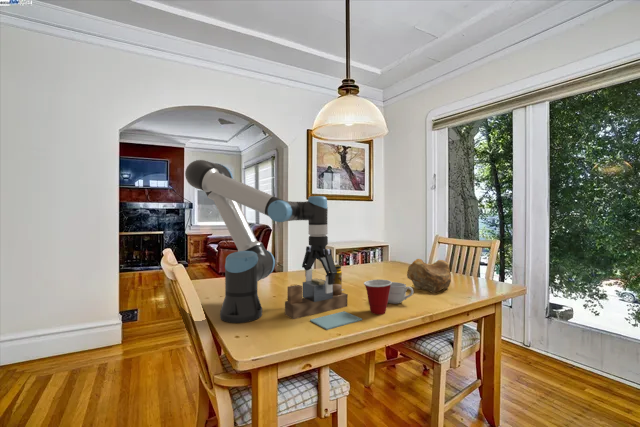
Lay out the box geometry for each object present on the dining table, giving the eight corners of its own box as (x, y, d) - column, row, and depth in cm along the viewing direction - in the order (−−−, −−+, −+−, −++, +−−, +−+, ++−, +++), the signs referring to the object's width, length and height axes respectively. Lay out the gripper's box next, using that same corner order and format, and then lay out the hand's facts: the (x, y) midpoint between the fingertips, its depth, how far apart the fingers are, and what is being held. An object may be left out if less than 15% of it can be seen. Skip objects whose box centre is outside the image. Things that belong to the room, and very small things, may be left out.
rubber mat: (326, 329, 102) (326, 328, 102) (310, 321, 110) (310, 319, 110) (362, 320, 112) (362, 318, 112) (344, 312, 120) (344, 311, 120)
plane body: (293, 319, 112) (293, 289, 112) (284, 314, 117) (285, 285, 117) (347, 306, 127) (347, 279, 127) (338, 302, 132) (338, 277, 132)
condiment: (345, 290, 153) (345, 266, 153) (331, 292, 148) (331, 267, 148) (336, 287, 159) (336, 263, 159) (322, 289, 155) (322, 265, 154)
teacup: (375, 301, 134) (375, 283, 134) (389, 296, 142) (389, 279, 142) (404, 309, 124) (404, 289, 124) (417, 303, 132) (417, 284, 132)
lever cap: (314, 302, 116) (314, 283, 116) (302, 297, 123) (302, 279, 123) (332, 298, 121) (332, 280, 121) (320, 293, 128) (320, 276, 128)
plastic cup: (363, 307, 127) (364, 277, 127) (390, 308, 125) (391, 279, 125) (362, 315, 116) (363, 284, 116) (392, 317, 114) (392, 285, 114)
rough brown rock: (422, 297, 144) (425, 266, 143) (402, 286, 160) (405, 257, 158) (462, 295, 151) (465, 265, 150) (439, 284, 167) (442, 257, 166)
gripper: (346, 236, 114) (346, 294, 114) (308, 233, 134) (308, 282, 134) (330, 238, 109) (330, 297, 110) (293, 234, 130) (294, 284, 130)
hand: (318, 289), depth 122 cm, fingers open, 13 cm apart
